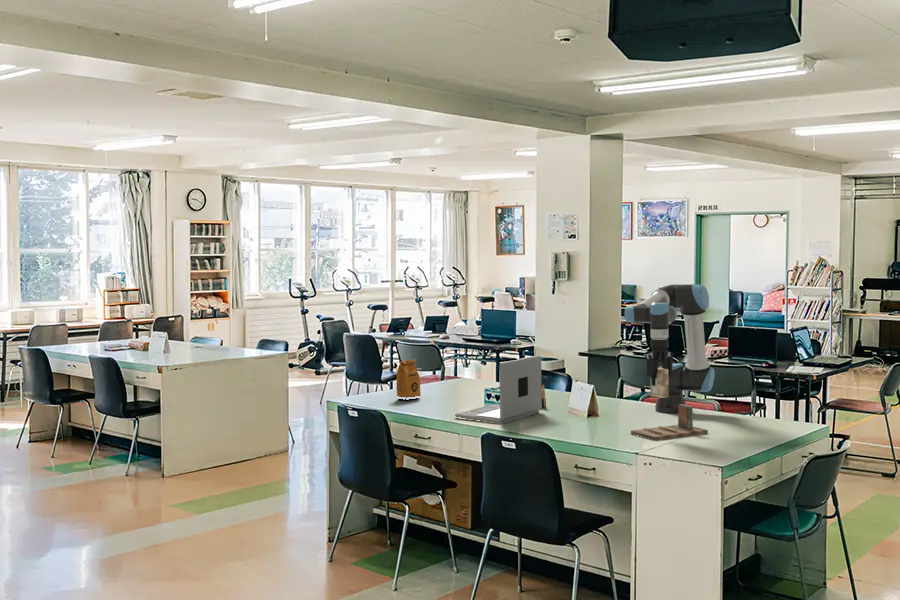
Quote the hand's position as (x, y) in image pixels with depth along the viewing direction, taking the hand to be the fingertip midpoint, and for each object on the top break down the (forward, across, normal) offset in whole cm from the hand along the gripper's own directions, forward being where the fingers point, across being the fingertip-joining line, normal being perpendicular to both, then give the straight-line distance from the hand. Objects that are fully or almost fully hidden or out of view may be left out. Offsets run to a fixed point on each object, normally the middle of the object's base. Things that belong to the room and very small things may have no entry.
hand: (659, 392), depth 386 cm
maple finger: (+2, 0, 0) cm, 2 cm away
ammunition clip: (+19, -7, +89) cm, 91 cm away
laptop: (+19, -36, +77) cm, 87 cm away
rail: (+18, +5, 0) cm, 19 cm away
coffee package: (+19, -55, +146) cm, 157 cm away
